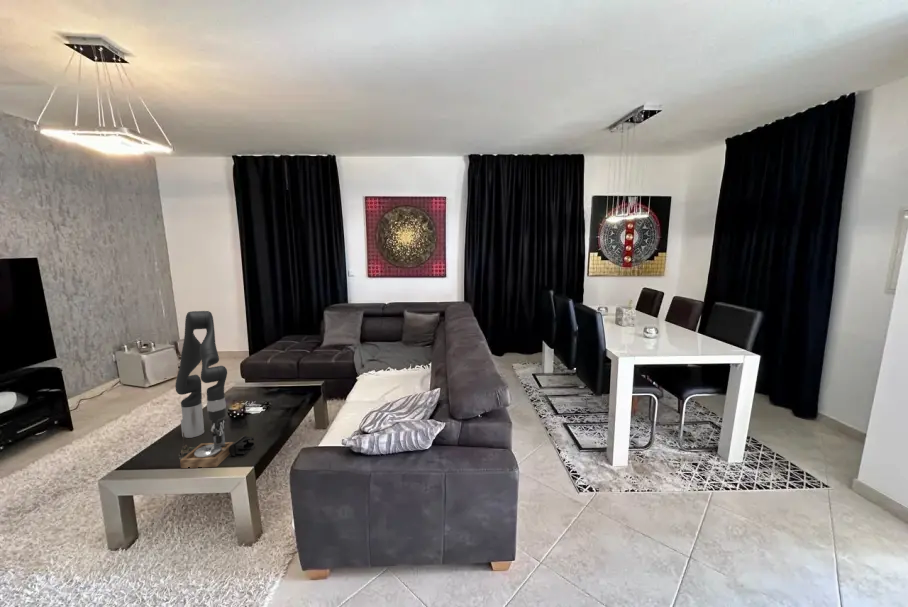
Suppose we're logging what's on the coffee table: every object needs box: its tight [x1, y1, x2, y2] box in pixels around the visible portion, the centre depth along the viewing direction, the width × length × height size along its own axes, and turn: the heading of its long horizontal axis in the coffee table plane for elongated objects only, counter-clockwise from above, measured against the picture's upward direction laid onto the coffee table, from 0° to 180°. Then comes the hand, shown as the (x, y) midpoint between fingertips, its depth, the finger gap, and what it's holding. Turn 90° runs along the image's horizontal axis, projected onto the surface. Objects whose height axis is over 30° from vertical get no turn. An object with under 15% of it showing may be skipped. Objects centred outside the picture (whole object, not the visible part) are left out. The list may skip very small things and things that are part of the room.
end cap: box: [229, 434, 255, 458], centre depth 185 cm, size 10×7×7 cm
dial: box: [194, 431, 226, 458], centre depth 179 cm, size 13×11×9 cm
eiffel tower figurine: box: [178, 432, 195, 460], centre depth 182 cm, size 15×10×13 cm
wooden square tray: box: [179, 441, 235, 469], centre depth 179 cm, size 16×16×4 cm
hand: (219, 442), depth 178 cm, fingers closed
